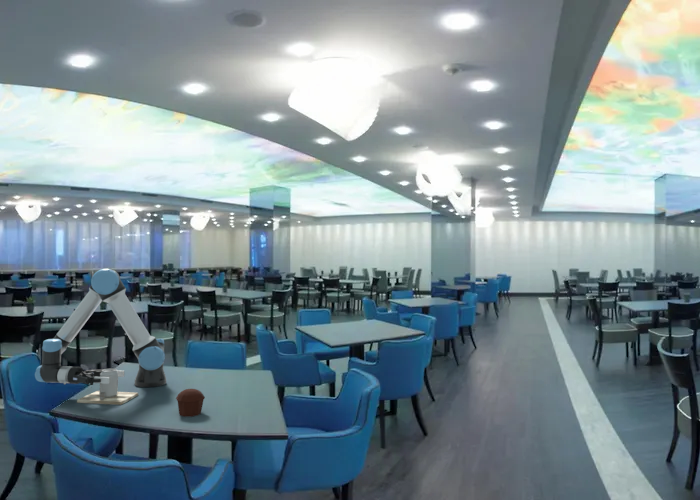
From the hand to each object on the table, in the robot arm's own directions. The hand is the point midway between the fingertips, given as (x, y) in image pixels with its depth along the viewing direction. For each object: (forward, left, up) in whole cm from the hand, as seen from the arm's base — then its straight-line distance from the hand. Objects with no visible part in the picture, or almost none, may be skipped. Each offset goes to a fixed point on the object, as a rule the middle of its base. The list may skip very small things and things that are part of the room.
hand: (116, 377), depth 233 cm
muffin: (-27, +33, -10) cm, 44 cm away
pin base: (+3, -2, -10) cm, 11 cm away
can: (+3, -2, -9) cm, 10 cm away
